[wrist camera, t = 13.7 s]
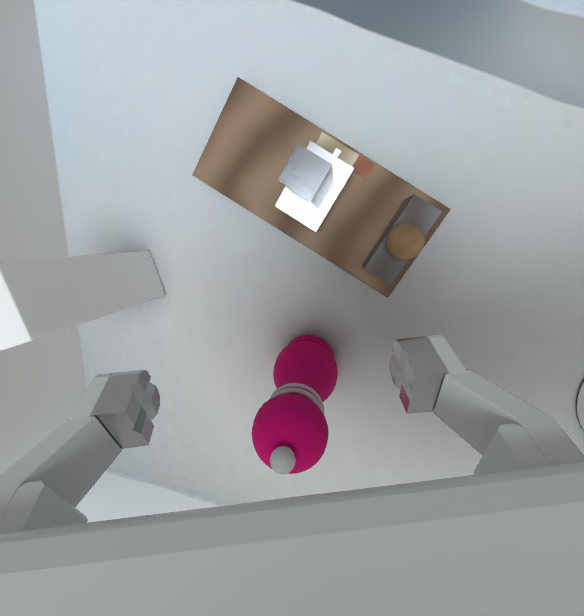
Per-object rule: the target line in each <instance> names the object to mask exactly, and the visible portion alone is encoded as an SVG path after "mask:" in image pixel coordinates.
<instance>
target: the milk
mask: <svg viewBox="0 0 584 616" xmlns="http://www.w3.org/2000/svg"><path fill="white" fill-rule="evenodd" d="M164 295H166V294H165V291H164V289H163V286H162V283H161V281H160V278H159V275H158V273H157V270H156V267H155V264H154V262H153V259H152V256H151V254H150V251H137V252H124V253H112V254H99V255H87V256H74V257H62V258H49V259H38V260H37V259H36V260H25V261H12V262H0V351H1V350H4V349H7V348H10V347H14V346H16V345H20V344H23V343H26V342H29V341H32V340H35V339H38V338H41V337H44V336H47V335H50V334H53V333H56V332H59V331H62V330H65V329H68V328H70V327H73V326H76V325H79V324H82V323H85V322H88V321H91V320H94V319H97V318H100V317H103V316H106V315H109V314H112V313H114V312H117V311H120V310H123V309H126V308H129V307H132V306H135V305H138V304H141V303H144V302H147V301H150V300H153V299H156V298H158V297H161V296H164Z"/></svg>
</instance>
